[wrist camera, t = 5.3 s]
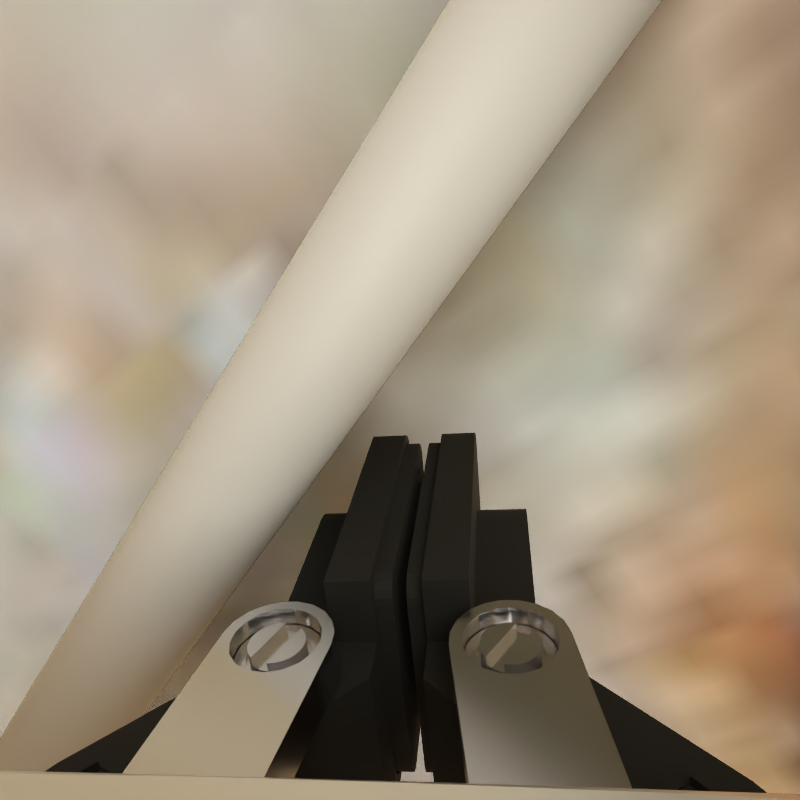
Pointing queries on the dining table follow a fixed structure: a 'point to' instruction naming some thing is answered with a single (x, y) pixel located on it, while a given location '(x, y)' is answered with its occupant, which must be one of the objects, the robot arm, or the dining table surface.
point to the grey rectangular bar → (325, 344)
